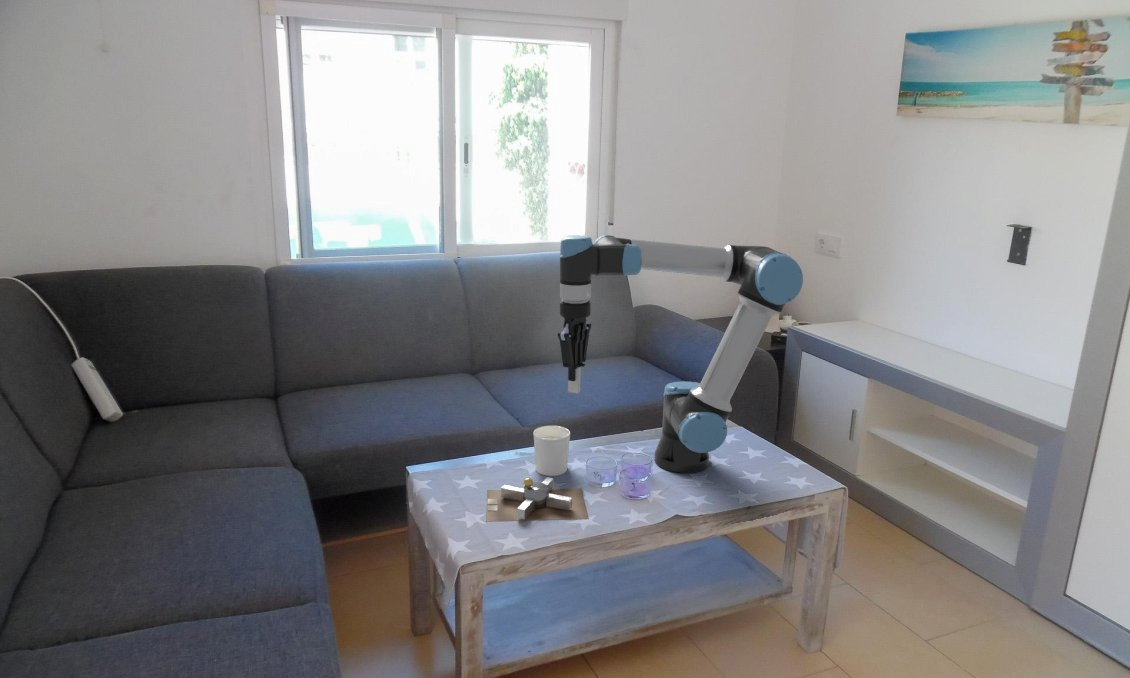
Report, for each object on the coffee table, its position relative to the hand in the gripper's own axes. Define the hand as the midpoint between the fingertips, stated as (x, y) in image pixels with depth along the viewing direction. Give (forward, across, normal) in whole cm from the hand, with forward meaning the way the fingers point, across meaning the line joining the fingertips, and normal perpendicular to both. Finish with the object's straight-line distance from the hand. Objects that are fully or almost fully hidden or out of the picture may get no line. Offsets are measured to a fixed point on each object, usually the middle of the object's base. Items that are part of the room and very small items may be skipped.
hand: (574, 391), depth 195 cm
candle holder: (+26, -4, -9) cm, 28 cm away
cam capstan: (+25, +16, -2) cm, 29 cm away
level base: (+26, +16, -2) cm, 30 cm away
